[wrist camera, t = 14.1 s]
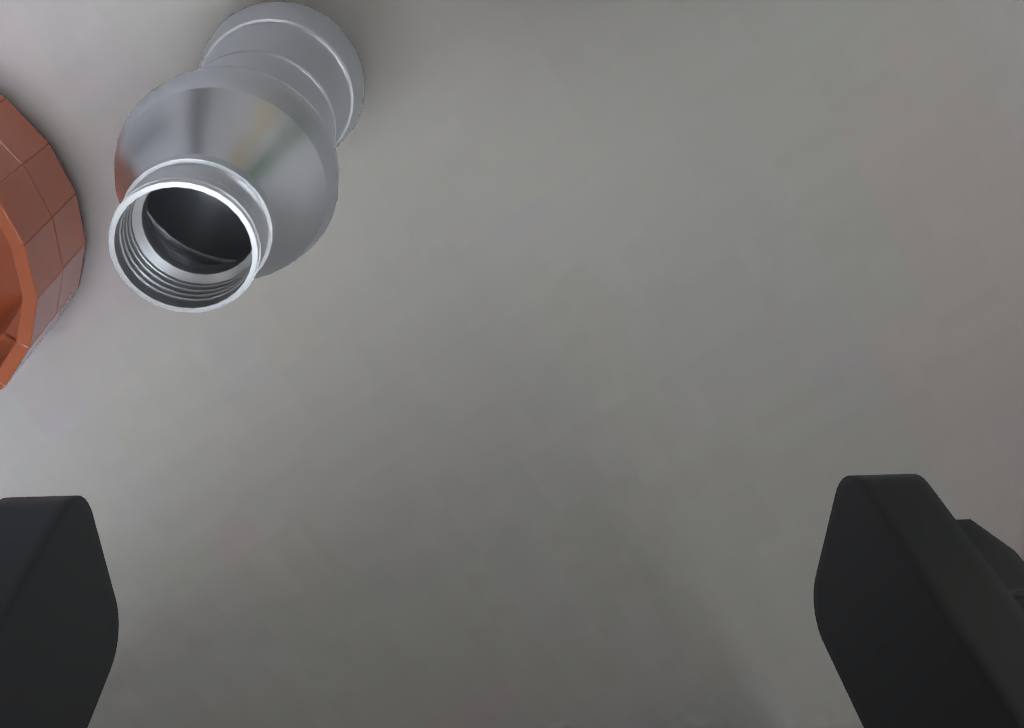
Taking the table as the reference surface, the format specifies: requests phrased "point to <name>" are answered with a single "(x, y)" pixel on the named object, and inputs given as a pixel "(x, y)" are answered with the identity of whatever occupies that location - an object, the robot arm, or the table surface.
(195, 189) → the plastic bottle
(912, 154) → the table surface
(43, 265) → the bowl
